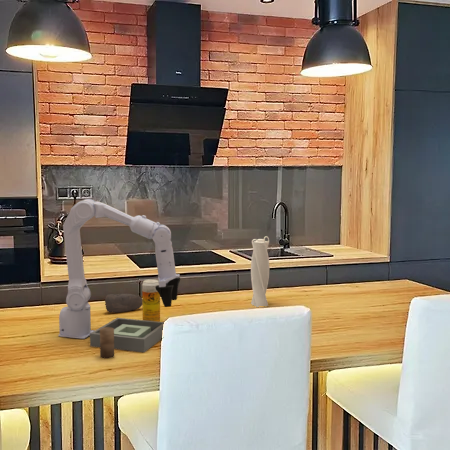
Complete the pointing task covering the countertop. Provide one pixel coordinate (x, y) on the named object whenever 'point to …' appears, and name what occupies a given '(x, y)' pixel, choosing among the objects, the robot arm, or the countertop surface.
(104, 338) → the walnut peg
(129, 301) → the perforated stone tool
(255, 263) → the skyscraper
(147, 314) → the beer can
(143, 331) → the plate
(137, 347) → the graphite box
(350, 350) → the countertop surface
